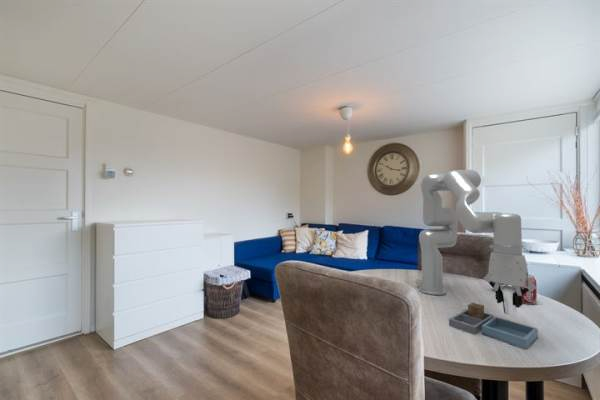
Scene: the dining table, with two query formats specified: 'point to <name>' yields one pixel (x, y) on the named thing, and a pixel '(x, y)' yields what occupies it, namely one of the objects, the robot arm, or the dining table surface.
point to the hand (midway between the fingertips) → (508, 303)
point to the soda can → (530, 293)
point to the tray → (510, 332)
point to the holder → (468, 328)
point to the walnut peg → (476, 311)
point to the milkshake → (509, 299)
